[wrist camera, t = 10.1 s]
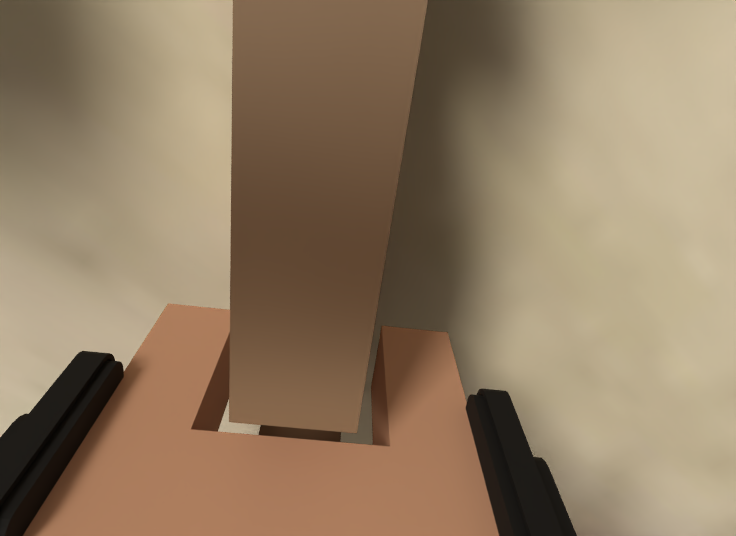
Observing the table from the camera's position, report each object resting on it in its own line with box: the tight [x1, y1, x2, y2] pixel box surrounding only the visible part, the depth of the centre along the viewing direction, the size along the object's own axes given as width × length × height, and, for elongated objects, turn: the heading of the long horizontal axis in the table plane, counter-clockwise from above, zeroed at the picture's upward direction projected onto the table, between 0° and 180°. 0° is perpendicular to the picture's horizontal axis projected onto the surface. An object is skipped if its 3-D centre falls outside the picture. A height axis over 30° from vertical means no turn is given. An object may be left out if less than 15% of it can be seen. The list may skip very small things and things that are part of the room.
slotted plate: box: [23, 304, 499, 536], centre depth 10 cm, size 2×7×8 cm, turn 82°
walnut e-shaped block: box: [229, 0, 428, 442], centre depth 10 cm, size 18×2×8 cm, turn 172°
